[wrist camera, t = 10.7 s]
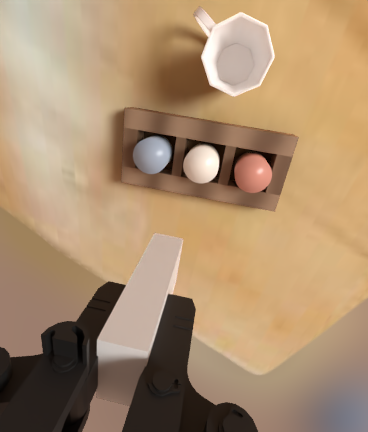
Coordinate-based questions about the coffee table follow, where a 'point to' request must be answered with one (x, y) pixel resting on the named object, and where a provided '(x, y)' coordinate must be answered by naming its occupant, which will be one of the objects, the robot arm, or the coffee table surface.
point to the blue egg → (153, 154)
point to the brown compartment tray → (213, 133)
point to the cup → (235, 52)
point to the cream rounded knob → (201, 163)
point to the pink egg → (252, 172)
